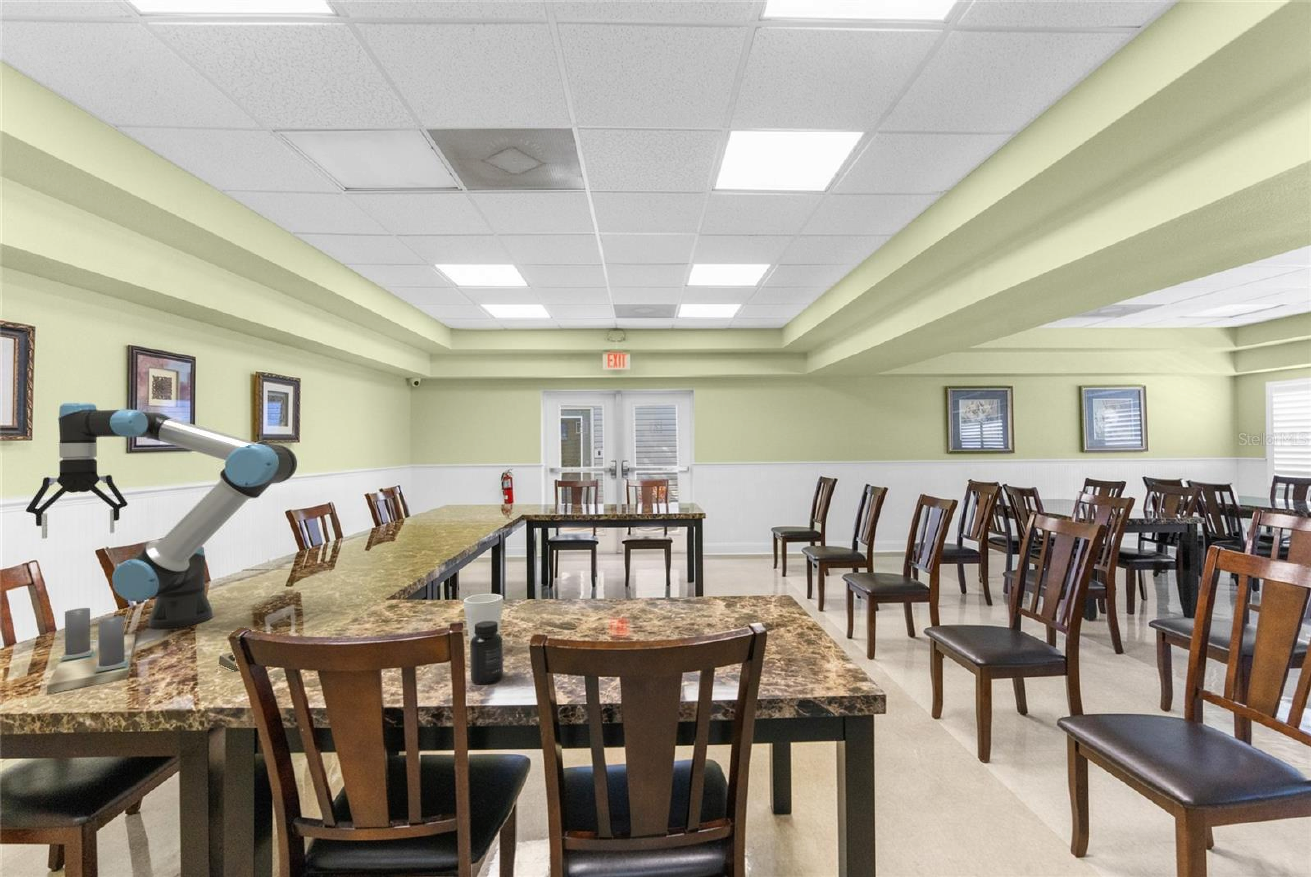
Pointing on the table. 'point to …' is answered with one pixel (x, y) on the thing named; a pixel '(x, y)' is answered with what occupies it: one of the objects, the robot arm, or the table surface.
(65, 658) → the grey upright block
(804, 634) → the table surface
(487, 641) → the supplement bottle
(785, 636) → the table surface
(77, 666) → the switch bank
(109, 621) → the grey tall block
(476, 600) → the foam cup
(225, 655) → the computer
